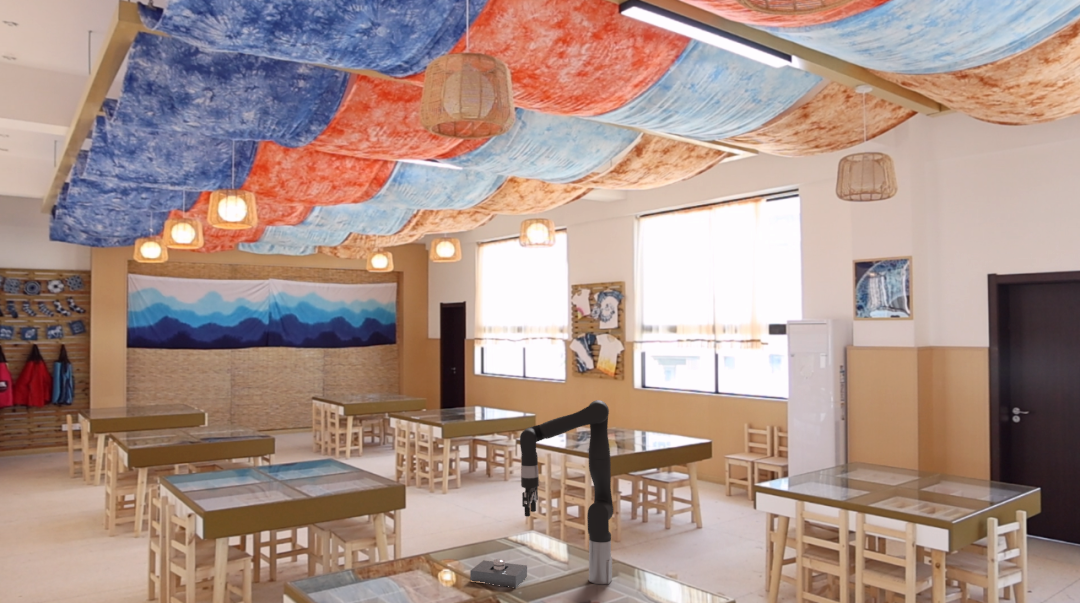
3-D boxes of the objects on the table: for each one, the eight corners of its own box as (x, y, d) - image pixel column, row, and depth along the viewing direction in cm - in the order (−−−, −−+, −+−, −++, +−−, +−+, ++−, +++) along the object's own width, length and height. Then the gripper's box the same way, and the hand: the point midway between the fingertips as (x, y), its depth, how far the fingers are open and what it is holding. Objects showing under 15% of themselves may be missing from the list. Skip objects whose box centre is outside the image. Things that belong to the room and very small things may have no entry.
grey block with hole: (526, 577, 317) (527, 565, 317) (515, 588, 304) (515, 575, 304) (483, 571, 323) (483, 560, 323) (470, 582, 310) (470, 570, 310)
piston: (506, 578, 315) (506, 559, 315) (502, 582, 310) (502, 562, 311) (495, 577, 317) (496, 558, 317) (491, 581, 312) (491, 561, 312)
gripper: (533, 479, 312) (533, 518, 311) (543, 472, 325) (543, 510, 324) (516, 478, 314) (516, 517, 313) (526, 472, 327) (527, 509, 327)
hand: (530, 513), depth 319 cm, fingers open, 8 cm apart
